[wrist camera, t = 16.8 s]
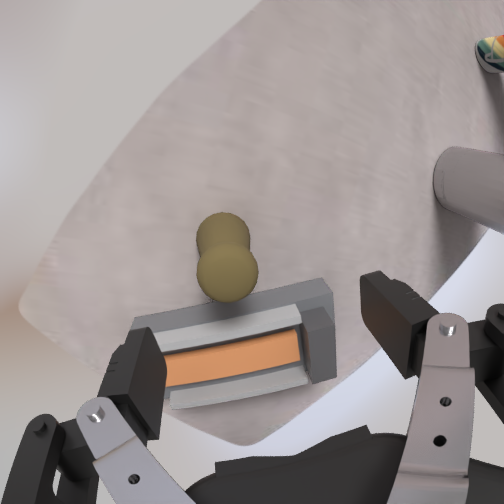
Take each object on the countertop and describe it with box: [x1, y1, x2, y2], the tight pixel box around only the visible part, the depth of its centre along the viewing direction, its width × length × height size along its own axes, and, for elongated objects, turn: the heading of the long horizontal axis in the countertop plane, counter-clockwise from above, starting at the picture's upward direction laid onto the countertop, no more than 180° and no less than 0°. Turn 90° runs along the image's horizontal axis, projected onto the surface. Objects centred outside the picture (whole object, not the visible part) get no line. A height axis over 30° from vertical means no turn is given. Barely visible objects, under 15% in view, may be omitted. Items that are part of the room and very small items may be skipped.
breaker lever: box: [164, 329, 300, 387], centre depth 35 cm, size 17×4×1 cm, turn 101°
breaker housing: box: [130, 278, 337, 410], centre depth 36 cm, size 24×11×8 cm, turn 101°
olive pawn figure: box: [196, 212, 259, 303], centre depth 30 cm, size 6×6×11 cm
